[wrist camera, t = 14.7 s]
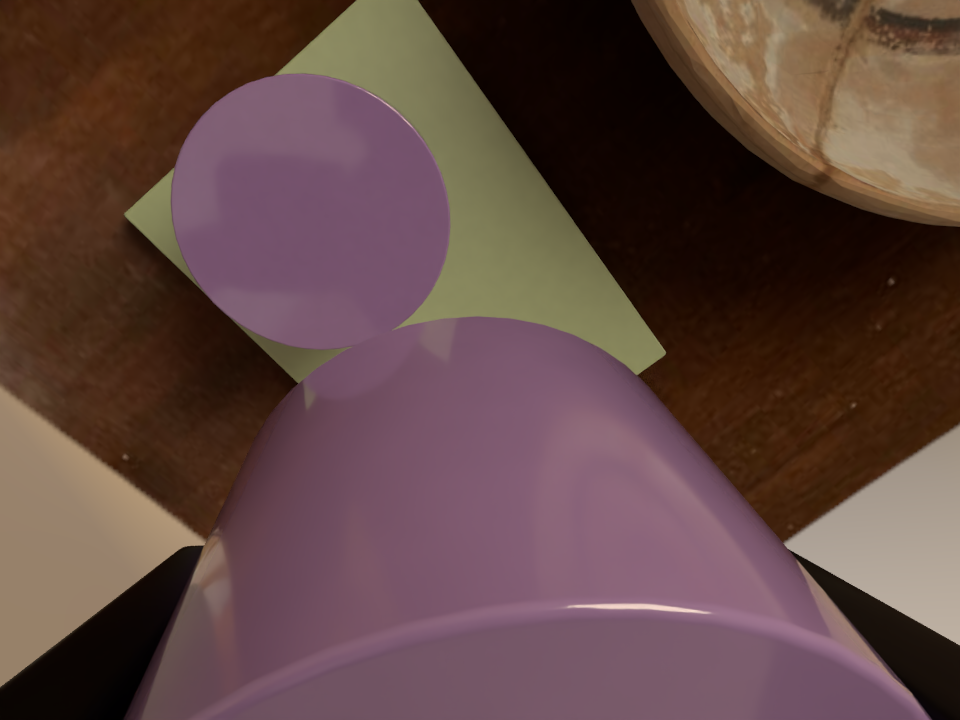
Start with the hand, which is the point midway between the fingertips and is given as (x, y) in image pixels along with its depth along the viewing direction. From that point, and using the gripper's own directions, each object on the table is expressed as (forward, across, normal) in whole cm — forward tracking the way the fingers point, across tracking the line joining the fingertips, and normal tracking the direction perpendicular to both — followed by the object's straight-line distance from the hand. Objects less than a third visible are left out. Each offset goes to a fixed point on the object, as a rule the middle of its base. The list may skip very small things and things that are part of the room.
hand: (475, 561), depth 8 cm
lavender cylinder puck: (+1, 0, 0) cm, 1 cm away
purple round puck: (+12, +3, -3) cm, 13 cm away
